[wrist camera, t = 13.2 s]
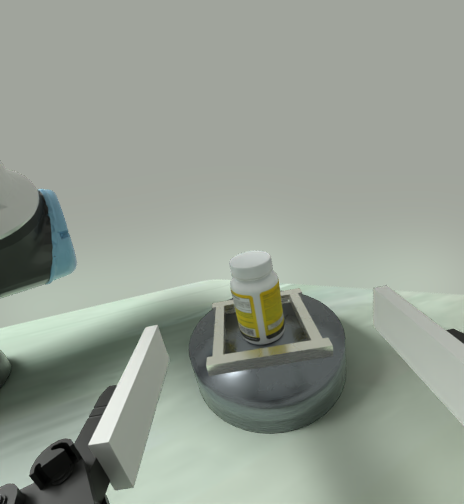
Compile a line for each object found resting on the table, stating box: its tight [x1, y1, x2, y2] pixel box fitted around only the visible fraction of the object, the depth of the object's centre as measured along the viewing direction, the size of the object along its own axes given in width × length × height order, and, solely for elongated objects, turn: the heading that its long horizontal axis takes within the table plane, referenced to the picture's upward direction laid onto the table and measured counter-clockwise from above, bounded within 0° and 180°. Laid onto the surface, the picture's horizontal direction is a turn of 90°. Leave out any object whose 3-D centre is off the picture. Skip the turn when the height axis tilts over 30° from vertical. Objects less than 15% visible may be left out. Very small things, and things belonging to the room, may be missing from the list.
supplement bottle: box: [229, 251, 285, 345], centre depth 24 cm, size 5×5×8 cm
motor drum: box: [189, 288, 346, 433], centre depth 26 cm, size 16×16×5 cm
